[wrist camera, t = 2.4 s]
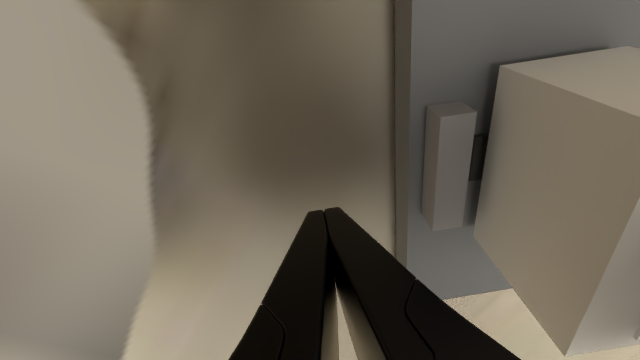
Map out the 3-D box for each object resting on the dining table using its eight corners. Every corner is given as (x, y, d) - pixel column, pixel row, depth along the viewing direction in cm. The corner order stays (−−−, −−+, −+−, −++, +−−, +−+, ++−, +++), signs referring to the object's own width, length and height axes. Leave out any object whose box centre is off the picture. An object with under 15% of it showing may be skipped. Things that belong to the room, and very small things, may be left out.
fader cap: (567, 220, 12) (707, 337, 8) (473, 235, 12) (567, 361, 8) (627, 46, 9) (907, 95, 5) (499, 65, 9) (679, 131, 5)
